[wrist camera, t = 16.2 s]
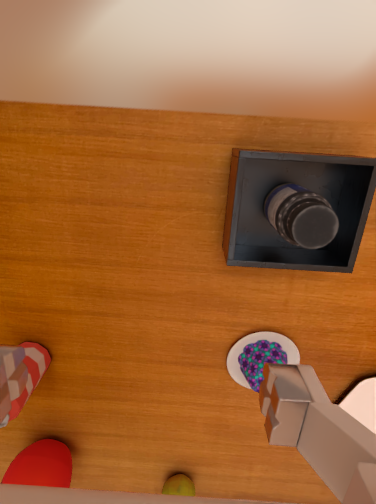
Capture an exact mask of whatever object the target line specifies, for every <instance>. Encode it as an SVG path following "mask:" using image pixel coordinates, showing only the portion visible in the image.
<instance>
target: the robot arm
mask: <svg viewBox="0 0 376 504" xmlns="http://www.w3.org/2000/svg"><path fill="white" fill-rule="evenodd" d="M25 356H26V354H25V349H24V347H22V346H16V345H5V344H0V424H1V423H2V422H3V420H4V419H5V417H6V416H7V414H8V413H9V411H10V410H11V408H12V405H11V401H13V400H15V399H16V398H18V397H19V396H20V395H21V394H22V392H23V391H24V389H25V386H26V383H27V380H28V367H27V366H26V365H25V364H24V362H23V361H22V360H23V359H24V358H25ZM262 373H263V376H264V380H263V381H262V382H261V383H260V388H259V403H260V409H261V413H262V414H263V415H264V416H265V417H266V419H265V424H264V426H265V430H266V434H267V438H268V442H269V445H280V446H290V447H297V450H298V451H299V452H300V453H301V455H302V456H303V457H304V458H305V459H306V461H307V462H308V463H309V464H310V465H311V467H312V468H313V469H314V470H315V472H316V473H317V474H318V475H319V476H320V478H321V479H322V480H323V481H324V482H325V484H326V485H327V486H328V487H329V489H330V490H331V491H332V492H333V493H334V495H335V496H336V497H337V498H338V499H339V501H340V502H341V503H342V504H376V434H374V433H373V432H372V431H371V430H369V429H368V428H367V427H365V426H364V425H363V424H361V423H360V422H359V421H358V420H356V419H355V418H354V417H352V416H351V415H350V414H348V413H347V412H346V411H345V410H343V409H342V408H341V407H339V406H338V405H337V404H332V403H331V401H330V400H329V398H328V396H327V394H326V392H325V390H324V388H323V386H322V384H321V382H320V380H319V379H318V377H317V375H316V373H315V371H314V369H313V367H312V366H311V365H301V364H295V365H293V364H277V363H265V364H264V367H263V372H262ZM0 504H299V503H285V502H270V501H255V500H240V499H225V498H210V497H195V496H180V495H165V494H150V493H135V492H121V491H106V490H91V489H76V488H62V487H47V486H32V485H17V484H2V483H0Z"/></svg>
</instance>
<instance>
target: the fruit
mask: <svg viewBox="0 0 376 504" xmlns="http://www.w3.org/2000/svg"><path fill="white" fill-rule="evenodd" d="M162 494H165V495H180V496H195V486H194V484H193V482H192V481H191V480H190V479H189V478H188V477H187V476H185V475H183V474H177V475H174V476H172V477H171V478H169V479H168V480H167V481H166V482H165V484H164V486H163V490H162Z"/></svg>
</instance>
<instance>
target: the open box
mask: <svg viewBox="0 0 376 504" xmlns="http://www.w3.org/2000/svg"><path fill="white" fill-rule="evenodd" d="M284 183H292V184H297V185H300V186H302V187H304V188H306V189H308V190H311V191H313V192H315V193H317V194H319V195H321V196H323V197H324V198H325V199H326V200H327V201H328V202H329V204H330V205H331V208H332V210H333V211H334V212H335V213H336V215H337V217H338V221H339V227H338V231H337V233H336V236H335V237H334V239H333V240H332V241H331V242H330V243H328V244H327V245H325V246H323V247H321V248H318V249H306V248H303V247H301V246H298V245H293V244H290V243H288V242H287V241H286V240H284V239H283V238H282V237H281V236H280V234H279V233H278V232H277V231H276V230H275V229H274V227H273V226H272V225H271V224H270V223H269V222H268V220H267V218H266V217H265V214H264V211H263V206H264V201H265V198H266V196H267V195H268V193H269V192H270V191H271V190H272V189H273V188H275V187H276V186H278V185H280V184H284ZM375 188H376V158H370V157H362V156H353V155H336V154H320V153H304V152H287V151H271V150H254V149H238V148H232V156H231V166H230V175H229V185H228V195H227V205H226V214H225V224H224V234H223V243H222V248H223V252H224V256H225V260H226V264H227V266H244V267H260V268H277V269H293V270H309V271H326V272H342V273H352V271H353V267H354V264H355V261H356V257H357V253H358V250H359V246H360V242H361V239H362V235H363V232H364V228H365V224H366V221H367V217H368V213H369V210H370V206H371V202H372V199H373V195H374V192H375Z"/></svg>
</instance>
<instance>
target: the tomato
mask: <svg viewBox="0 0 376 504" xmlns="http://www.w3.org/2000/svg"><path fill="white" fill-rule="evenodd" d="M71 476H72V457H71V453H70V451H69V449H68V447H67V446H66V445H65V444H64V443H62V442H60V441H57V440H54V439H42V440H39V441H37V442H34V443H33V444H31V445H29V446H28V447H26V448H25V449H24V450H23V451H21V452H20V453H19V454H18V455H17V456H16V458H15V459H14V460H13V461H12V462H11V464H10V466H9V467H8V469H7V471H6V473H5V475H4V477H3V480H2V482H1V483H2V484H17V485H32V486H47V487H62V488H69V487H70V482H71Z"/></svg>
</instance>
